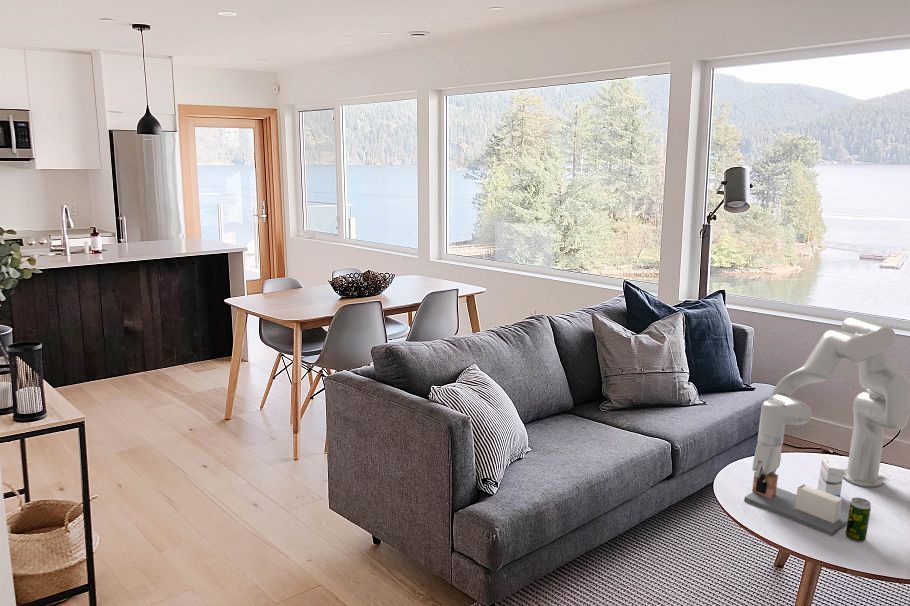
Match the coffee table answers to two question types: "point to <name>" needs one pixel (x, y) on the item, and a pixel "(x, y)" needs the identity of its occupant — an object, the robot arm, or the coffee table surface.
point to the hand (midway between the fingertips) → (764, 489)
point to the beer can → (858, 520)
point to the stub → (771, 485)
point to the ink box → (830, 477)
